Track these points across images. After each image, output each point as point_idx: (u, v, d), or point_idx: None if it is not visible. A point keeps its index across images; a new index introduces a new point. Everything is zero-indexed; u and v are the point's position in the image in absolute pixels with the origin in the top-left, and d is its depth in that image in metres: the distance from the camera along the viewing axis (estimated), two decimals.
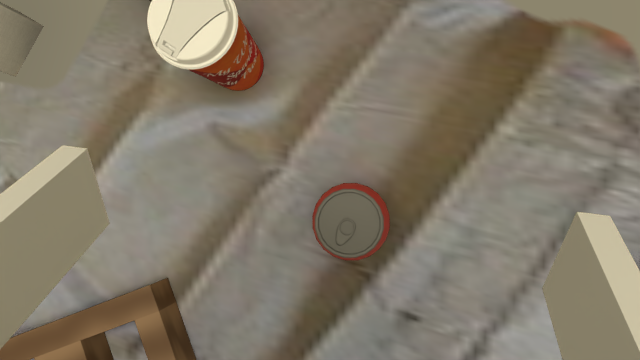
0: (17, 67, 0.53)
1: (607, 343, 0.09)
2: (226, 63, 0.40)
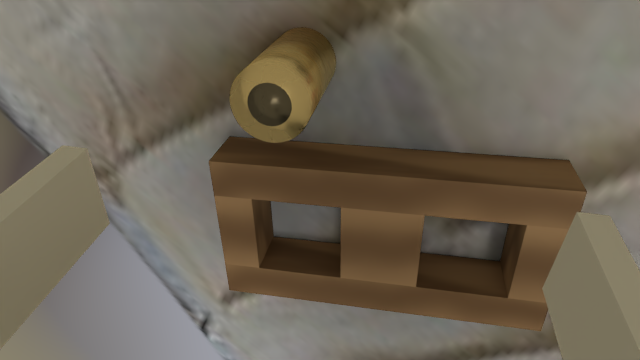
0: None
1: (607, 343, 0.09)
2: None
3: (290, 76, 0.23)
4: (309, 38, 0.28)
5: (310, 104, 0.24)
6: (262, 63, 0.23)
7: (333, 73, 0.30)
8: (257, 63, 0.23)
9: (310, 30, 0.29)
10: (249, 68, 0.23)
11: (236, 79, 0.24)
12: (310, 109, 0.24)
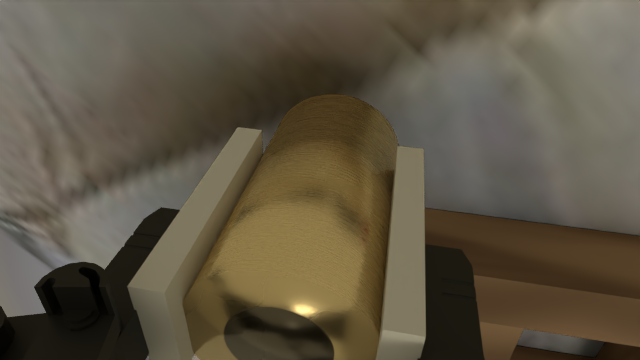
0: None
1: (388, 238, 0.11)
2: None
3: (336, 303, 0.09)
4: (358, 132, 0.13)
5: None
6: (263, 270, 0.09)
7: None
8: (250, 265, 0.09)
9: (356, 104, 0.15)
10: (228, 276, 0.09)
11: (195, 292, 0.09)
12: None
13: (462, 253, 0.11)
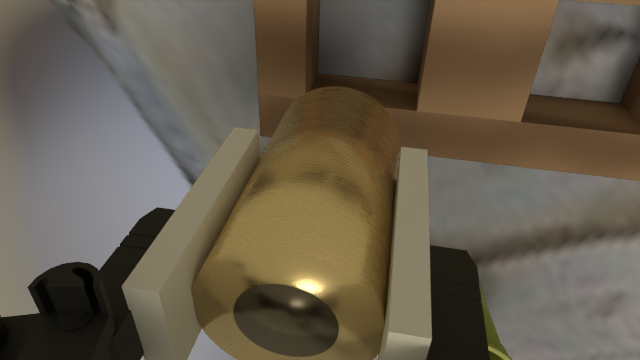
0: None
1: (392, 239, 0.11)
2: None
3: (342, 279, 0.09)
4: (360, 122, 0.14)
5: None
6: (272, 247, 0.09)
7: None
8: (259, 243, 0.09)
9: (358, 95, 0.15)
10: (239, 254, 0.09)
11: (206, 270, 0.10)
12: None
13: (466, 254, 0.11)
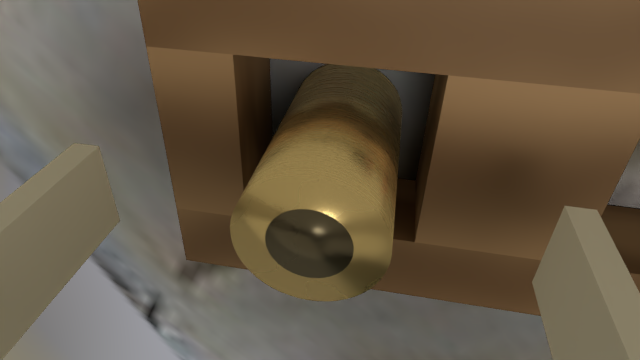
0: None
1: (591, 333, 0.09)
2: None
3: (356, 202, 0.11)
4: (368, 89, 0.16)
5: None
6: (300, 175, 0.11)
7: None
8: (289, 173, 0.11)
9: (366, 68, 0.17)
10: (272, 182, 0.11)
11: (245, 198, 0.12)
12: (390, 258, 0.12)
13: None
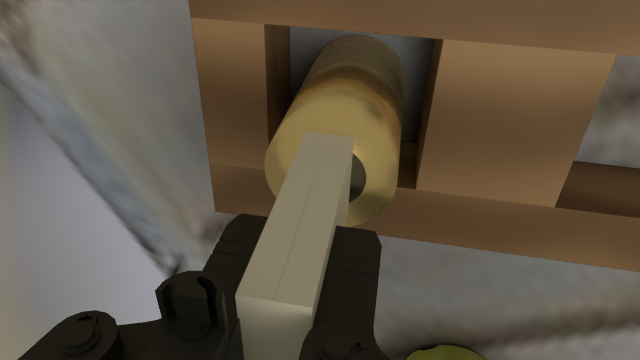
0: None
1: None
2: None
3: (369, 136, 0.14)
4: (377, 56, 0.19)
5: (397, 179, 0.15)
6: (324, 114, 0.14)
7: None
8: (315, 113, 0.14)
9: (373, 41, 0.20)
10: (301, 121, 0.14)
11: (278, 136, 0.14)
12: (396, 186, 0.15)
13: (375, 234, 0.11)
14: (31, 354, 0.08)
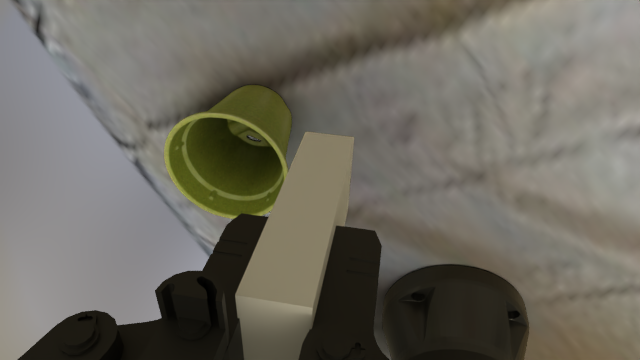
0: None
1: None
2: None
3: None
4: None
5: None
6: None
7: None
8: None
9: None
10: None
11: None
12: None
13: (375, 234, 0.11)
14: (31, 354, 0.08)
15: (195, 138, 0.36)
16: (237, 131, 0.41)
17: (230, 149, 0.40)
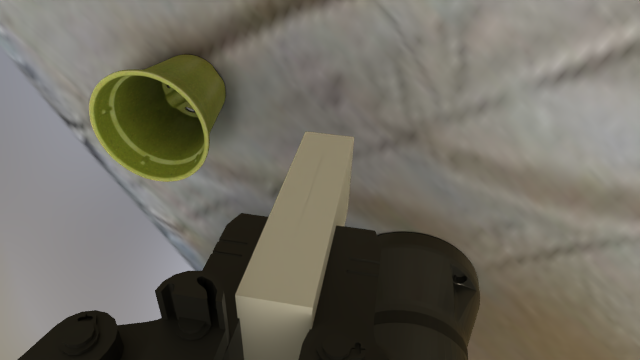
0: None
1: None
2: None
3: None
4: None
5: None
6: None
7: None
8: None
9: None
10: None
11: None
12: None
13: (375, 234, 0.11)
14: (31, 354, 0.08)
15: (125, 105, 0.38)
16: (175, 103, 0.42)
17: (168, 119, 0.42)
